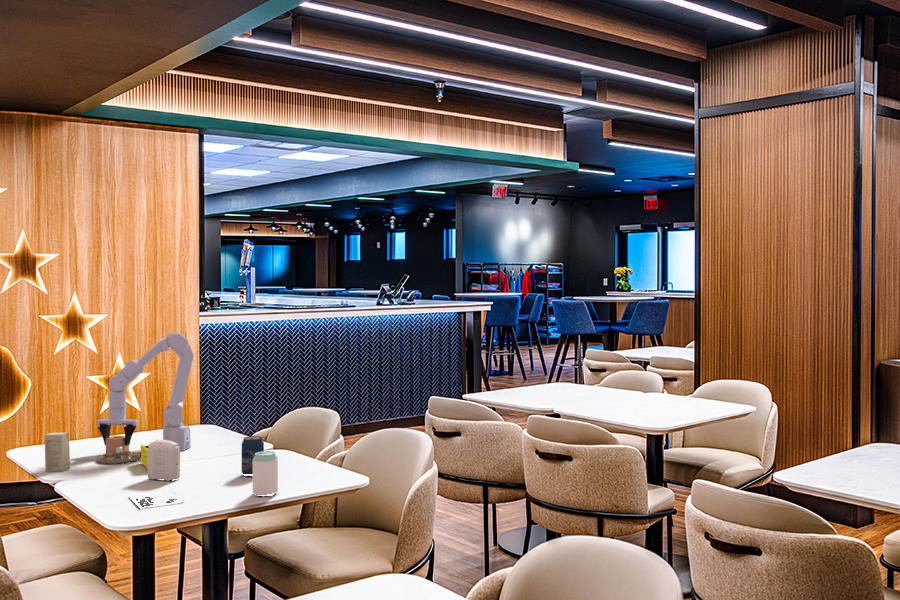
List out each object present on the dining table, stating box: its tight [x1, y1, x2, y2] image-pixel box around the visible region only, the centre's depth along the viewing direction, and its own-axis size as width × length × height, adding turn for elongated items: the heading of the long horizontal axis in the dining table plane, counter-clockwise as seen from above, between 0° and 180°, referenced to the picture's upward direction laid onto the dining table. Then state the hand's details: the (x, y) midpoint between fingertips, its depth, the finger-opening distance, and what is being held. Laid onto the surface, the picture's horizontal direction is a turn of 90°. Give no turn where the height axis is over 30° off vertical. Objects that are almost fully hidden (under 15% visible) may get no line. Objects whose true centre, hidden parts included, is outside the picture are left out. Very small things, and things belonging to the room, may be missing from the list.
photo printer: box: [147, 439, 181, 481], centre depth 234 cm, size 10×4×12 cm, turn 72°
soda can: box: [241, 435, 265, 475], centre depth 240 cm, size 7×7×12 cm
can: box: [252, 450, 279, 496], centre depth 216 cm, size 7×7×12 cm
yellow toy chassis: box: [140, 438, 158, 470], centre depth 252 cm, size 16×6×8 cm, turn 32°
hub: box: [96, 447, 141, 465], centre depth 263 cm, size 14×14×4 cm
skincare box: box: [44, 432, 71, 472], centre depth 248 cm, size 6×4×12 cm
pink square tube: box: [105, 435, 130, 455], centre depth 274 cm, size 6×6×6 cm
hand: (117, 445), depth 274 cm, fingers open, 7 cm apart
